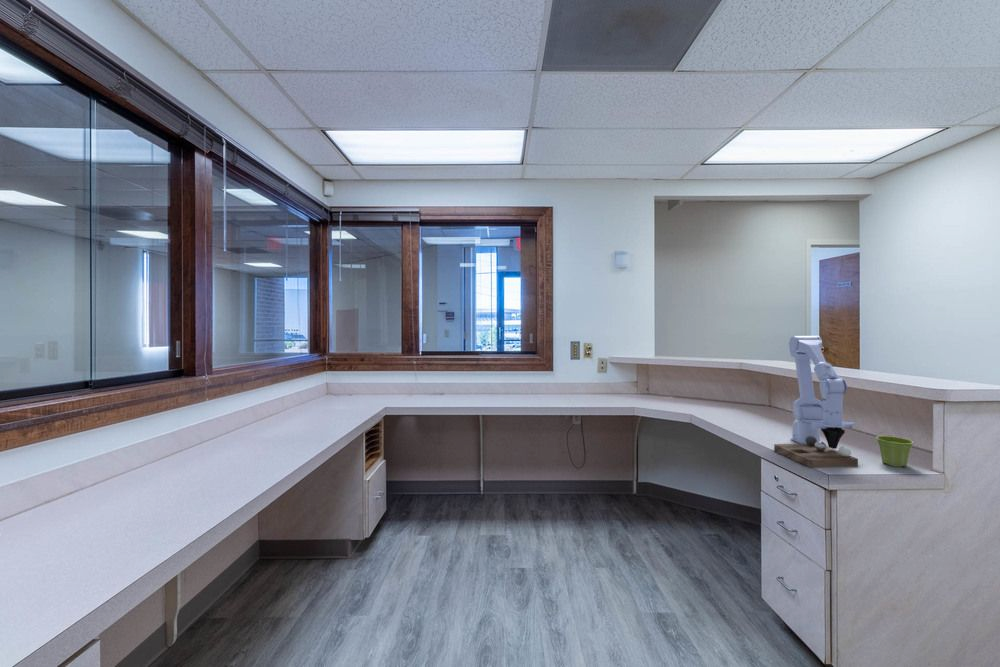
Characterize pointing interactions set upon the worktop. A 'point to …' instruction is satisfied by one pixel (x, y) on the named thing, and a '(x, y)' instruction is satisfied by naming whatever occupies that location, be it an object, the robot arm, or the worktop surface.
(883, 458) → the plant pot
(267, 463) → the worktop surface
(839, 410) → the robot arm
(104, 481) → the worktop surface
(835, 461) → the board
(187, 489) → the worktop surface
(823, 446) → the steel ball
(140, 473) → the worktop surface
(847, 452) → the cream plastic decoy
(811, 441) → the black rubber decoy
